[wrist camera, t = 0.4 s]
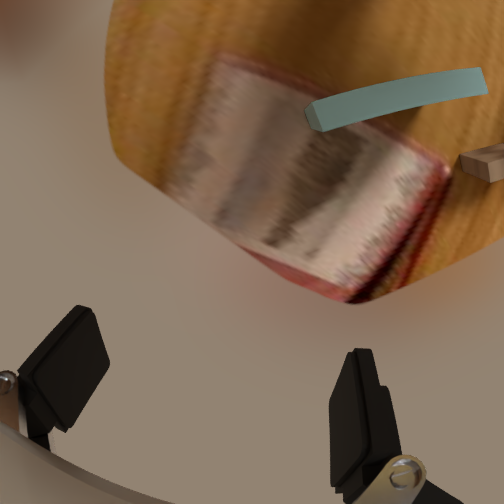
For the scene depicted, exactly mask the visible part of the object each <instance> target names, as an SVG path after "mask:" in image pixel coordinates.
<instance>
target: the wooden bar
mask: <svg viewBox="0 0 504 504" xmlns="http://www.w3.org/2000/svg"><path fill="white" fill-rule="evenodd" d="M459 155H460V160H461V165H462V171H463V172H466V173H468V174H471V175H473V176H475V177H478V178H480V179H483V180H485V181H487V182H490V183H492V182H495V181H498V180H501V179H504V143H501V144H497V145H493V146H489V147H485V148H481V149H477V150H474V151H470V152H466V153H462V154H459Z"/></svg>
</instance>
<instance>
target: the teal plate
mask: <svg viewBox="0 0 504 504" xmlns="http://www.w3.org/2000/svg"><path fill="white" fill-rule="evenodd" d="M482 94H489V93H488V90H487V86H486V83H485V80H484V77H483V74H482V71H481V68H480V67H476V68H467V69H458V70H450V71H443V72H436V73H430V74H424V75H418V76H413V77H408V78H403V79H398V80H393V81H388V82H384V83H380V84H375V85H371V86H367V87H363V88H359V89H355V90H351V91H348V92H344V93H340V94H337V95H333V96H330V97H327V98H323V99H320V100H317V101H314V102H311V103H310V104H309V105H308V107H307V108H306V109H305V110H304V112H305V114H306V117H307V119H308V122H309V124H310V127H311V129H314V130H317V131H321V132H325V131H329V130H332V129H335V128H338V127H342V126H345V125H348V124H352V123H355V122H359V121H363V120H366V119H370V118H374V117H377V116H381V115H385V114H389V113H393V112H397V111H401V110H405V109H409V108H414V107H418V106H423V105H427V104H432V103H437V102H442V101H447V100H452V99H458V98H464V97H470V96H476V95H482Z"/></svg>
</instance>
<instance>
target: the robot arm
mask: <svg viewBox="0 0 504 504" xmlns="http://www.w3.org/2000/svg"><path fill="white" fill-rule="evenodd" d="M109 366H110V360H109V357H108V355H107V351H106V348H105V345H104V342H103V340H102V336H101V333H100V330H99V327H98V323H97V320H96V316H95V314H94V313H93V312H92V309H91V308H88V307H85V306H81V305H76V306H75V307H74V308H73V309H72V310H71V311H70V312H69V313H68V314H67V315H66V316H65V317H64V318H63V319H62V321H60V323H59V324H58V325H57V326H56V327H55V328H54V329H53V330H52V331H51V332H50V333H49V334H48V336H47V337H46V338H45V339H44V340H43V341H42V342H41V343H40V344H39V346H38V347H37V348H36V349H35V350H34V351H33V353H32V354H31V355H30V356H29V357H28V358H27V359H26V361H25V362H24V363H23V364H22V365H21V367H20V368H19V369H18V370H17V371H18V373H19V376H18V377H17V376H16V374H15V373H13V372H12V371H9V370H5V371H1V372H0V504H174V503H171V502H167V501H163V500H160V499H157V498H153V497H150V496H148V495H145V494H142V493H139V492H136V491H133V490H130V489H128V488H125V487H123V486H120V485H118V484H115V483H112V482H110V481H108V480H105V479H103V478H101V477H99V476H97V475H94V474H92V473H90V472H88V471H86V470H84V469H82V468H79V467H78V466H76V465H74V464H72V463H70V462H68V461H66V460H64V459H62V458H61V457H59V456H57V455H56V450H55V445H54V439H53V433H52V429H53V427H54V426H55V427H56V428H57V429H59V430H61V431H63V432H65V433H66V432H67V430H68V428H71V427H72V426H73V425H74V423H75V422H76V420H77V418H78V417H79V415H80V413H81V412H82V410H83V408H84V407H85V405H86V403H87V402H88V400H89V398H90V397H91V395H92V394H93V392H94V391H95V389H96V387H97V385H98V384H99V383H100V381H101V379H102V378H103V376H104V375H105V373H106V372H107V370H108V368H109ZM329 423H330V425H329V426H330V483H331V487H335V493H336V494H337V493H343V502H344V503H345V504H464V503H462V502H461V501H460V500H458V499H456V498H455V497H453V496H451V495H450V494H448V493H446V492H445V491H443V490H442V489H440V488H439V487H437V486H435V485H434V484H432V483H431V482H429V481H428V480H426V469H425V466H424V465H423V463H422V461H420V460H419V459H418V458H417V457H414V456H411V455H402V451H401V445H400V440H399V435H398V429H397V424H396V419H395V415H394V410H393V405H392V401H391V396H390V392H389V390H388V388H387V386H380V383H379V379H378V374H377V370H376V366H375V362H374V357H373V353H372V350H371V349H363V348H355V349H354V350H353V352H348V354H347V356H346V359H345V361H344V364H343V367H342V369H341V372H340V375H339V377H338V380H337V382H336V385H335V388H334V390H333V392H332V395H331V397H330V401H329Z"/></svg>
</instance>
